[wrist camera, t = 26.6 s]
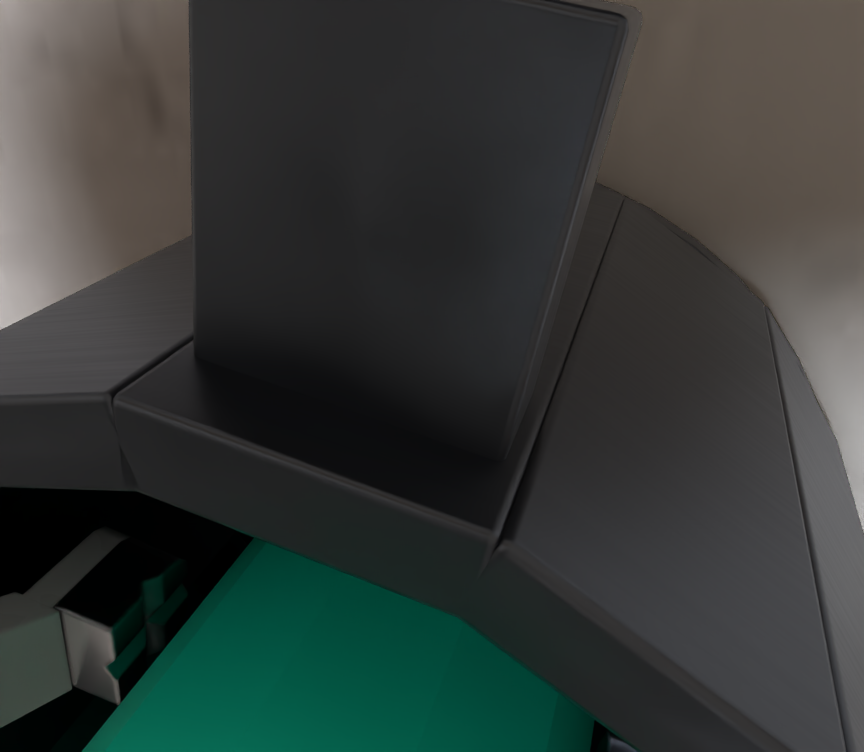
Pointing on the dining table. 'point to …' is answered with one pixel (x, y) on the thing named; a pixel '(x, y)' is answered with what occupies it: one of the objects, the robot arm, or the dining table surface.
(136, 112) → the dining table surface
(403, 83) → the pot
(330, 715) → the candle
